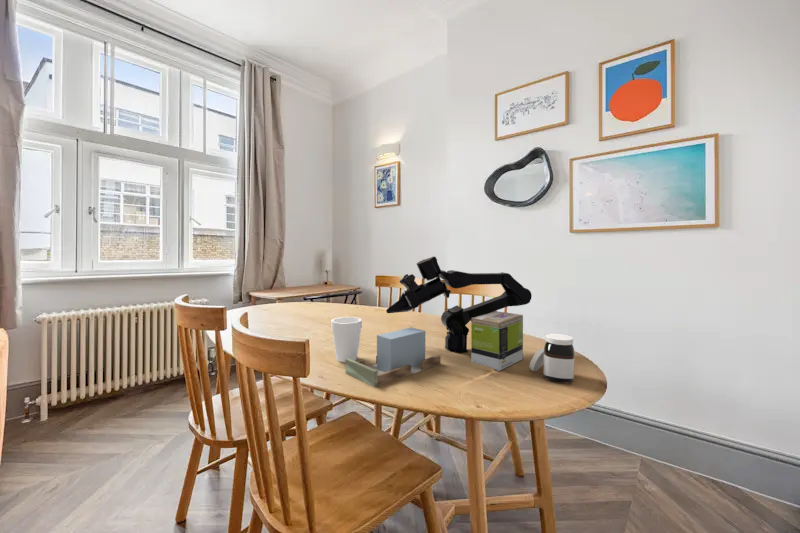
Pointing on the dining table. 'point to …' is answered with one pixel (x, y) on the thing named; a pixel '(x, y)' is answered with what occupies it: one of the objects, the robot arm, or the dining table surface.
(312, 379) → the dining table surface
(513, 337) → the tea box
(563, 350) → the spread jar
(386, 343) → the slate box
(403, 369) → the lane
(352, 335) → the foam cup
